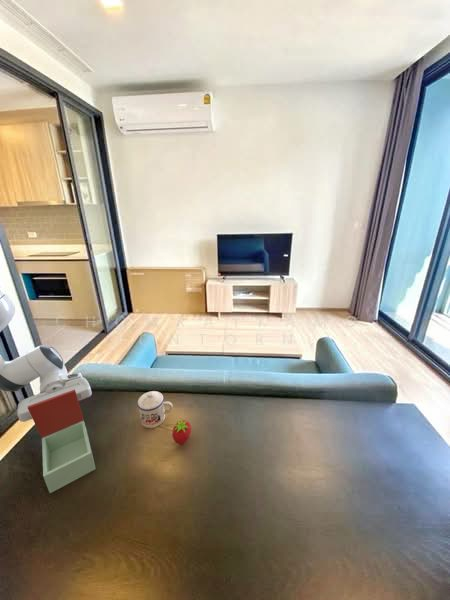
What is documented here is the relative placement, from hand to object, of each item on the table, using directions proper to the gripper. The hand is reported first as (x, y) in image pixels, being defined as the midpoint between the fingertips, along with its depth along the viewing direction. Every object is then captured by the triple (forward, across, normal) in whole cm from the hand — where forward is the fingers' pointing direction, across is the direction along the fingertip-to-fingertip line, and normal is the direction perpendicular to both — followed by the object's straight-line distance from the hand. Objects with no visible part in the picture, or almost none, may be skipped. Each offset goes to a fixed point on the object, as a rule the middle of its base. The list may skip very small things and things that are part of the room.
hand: (58, 413), depth 77 cm
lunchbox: (+6, 0, +14) cm, 15 cm away
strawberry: (+21, +31, +14) cm, 40 cm away
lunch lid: (+1, 0, -1) cm, 1 cm away
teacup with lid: (+6, +28, +14) cm, 32 cm away
